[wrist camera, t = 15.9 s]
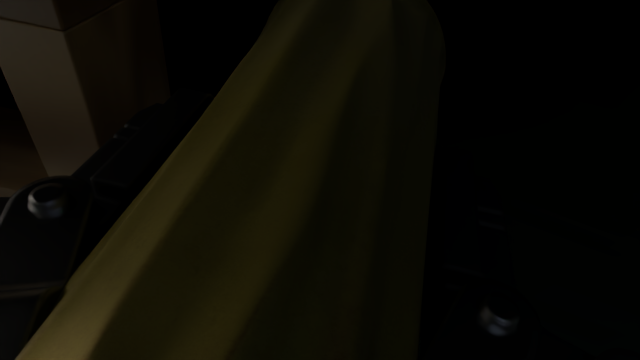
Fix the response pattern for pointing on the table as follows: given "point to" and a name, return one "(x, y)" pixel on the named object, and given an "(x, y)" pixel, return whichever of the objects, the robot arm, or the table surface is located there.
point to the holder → (73, 80)
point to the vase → (279, 206)
